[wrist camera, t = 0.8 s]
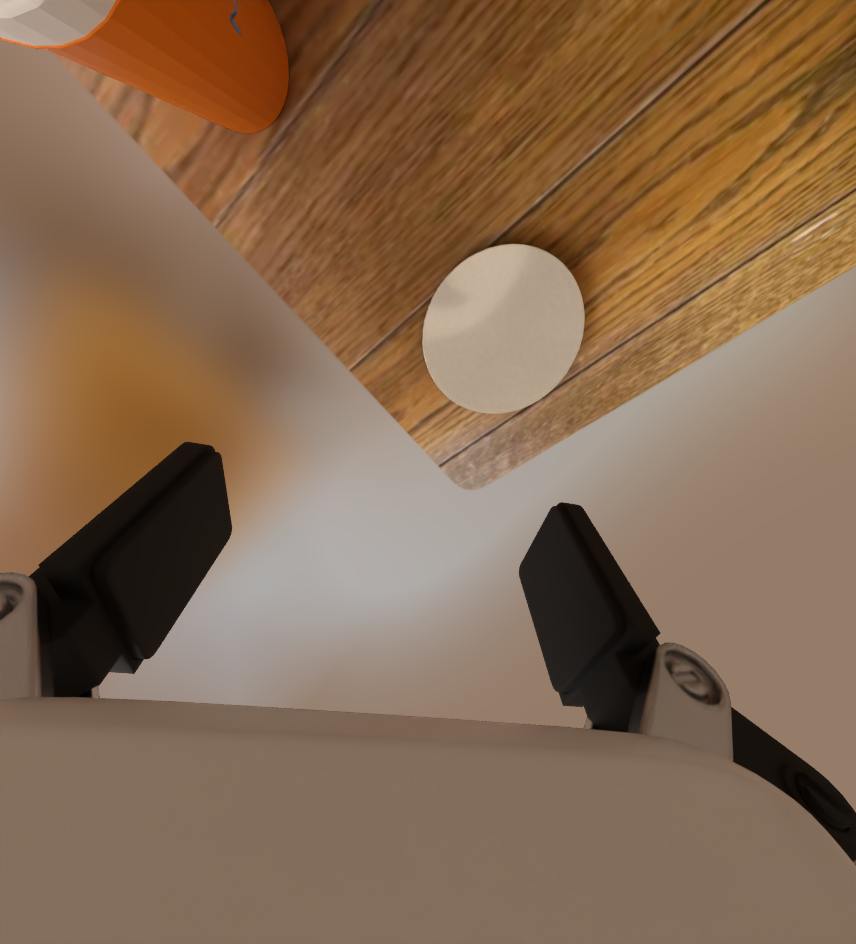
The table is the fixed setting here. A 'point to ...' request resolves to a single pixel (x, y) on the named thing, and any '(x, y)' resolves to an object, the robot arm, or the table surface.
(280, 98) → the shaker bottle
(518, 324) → the plate
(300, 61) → the table surface
